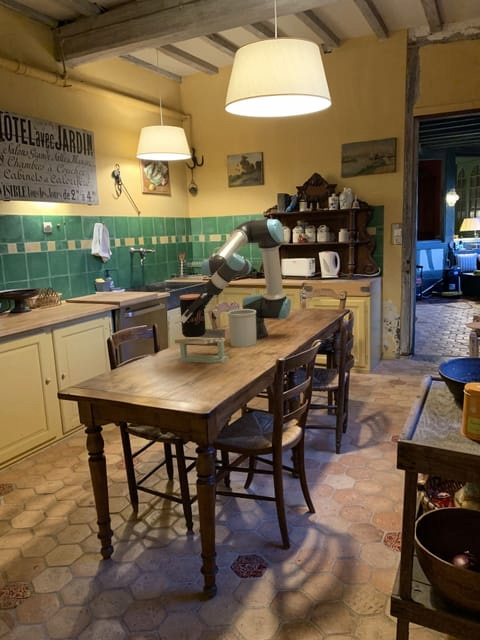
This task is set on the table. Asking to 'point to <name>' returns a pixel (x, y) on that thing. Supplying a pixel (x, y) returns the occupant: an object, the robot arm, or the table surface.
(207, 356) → the seesaw stand
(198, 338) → the seesaw plank
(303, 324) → the table surface
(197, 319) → the coffee jar
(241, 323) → the utensil holder
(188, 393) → the table surface
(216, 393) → the table surface
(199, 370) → the table surface
